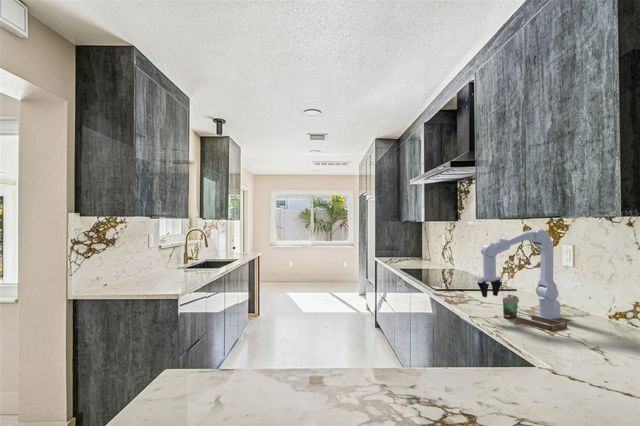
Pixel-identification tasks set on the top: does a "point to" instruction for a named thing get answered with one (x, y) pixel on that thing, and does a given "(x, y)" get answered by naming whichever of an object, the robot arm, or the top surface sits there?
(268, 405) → the top surface
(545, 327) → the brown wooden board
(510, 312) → the food container
